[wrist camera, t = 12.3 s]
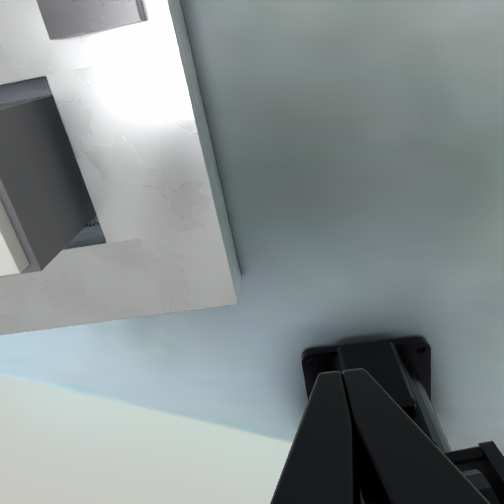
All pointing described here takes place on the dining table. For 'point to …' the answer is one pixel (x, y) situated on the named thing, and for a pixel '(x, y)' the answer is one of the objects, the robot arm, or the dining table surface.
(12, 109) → the plug
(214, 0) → the dining table surface
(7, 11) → the socket plate
